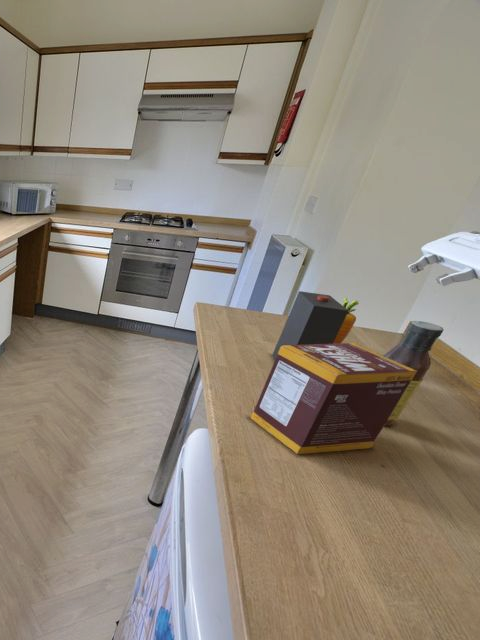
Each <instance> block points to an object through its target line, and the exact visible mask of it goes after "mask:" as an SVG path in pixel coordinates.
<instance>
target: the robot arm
mask: <svg viewBox="0 0 480 640" xmlns="http://www.w3.org/2000/svg"><path fill="white" fill-rule="evenodd" d="M420 249H421V253H422V256H421V257H420V258H419V259H418V260H417V261H415V262H413V263H410V264H408V266H407V268H408V271H410V272H412V273H414V274H417V273H419V272H422V271H424V268H425V267H426V266H428V265H433V264H437V265H441V266H443V267H445V268H448V269H451V270H453V271H455V272H454V273H450V274H449V273H444V274H442V275H440V276H437V277H436V279H435V280H436V281H437V284H439V285H440V286H442V287H446V286H448V285H451V284H453V283H454V284H455V283H461V282H468V281H471V280H473V279H476V280H479V281H480V231H477V230H473V231H458V232H453V233H451V234H448V235H446V236H443V237H440V238H437V239H435V240H433V241H430V242H428V243H425V244H424V245H423V246H422V247H421V248H420Z"/></svg>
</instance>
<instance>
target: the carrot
mask: <svg viewBox="0 0 480 640" xmlns="http://www.w3.org/2000/svg"><path fill="white" fill-rule="evenodd" d="M342 300H343V302H342V306H344V307H345V308H346V309H347V310H349V311H348V313H347V316H346V318H345V320H344V322H343V324H342V326H341V328H340V330H339V332H338V334H337V336H336V338H335V340H334V342H333V344H340V343H343V342H344V341H345V339H346V338H347V336H348V335H349V334H350V332H351V330H352V328H353V327H354V325H355V323H356V321H357V316H355V314H353V313H352V312H354V311H357V309H356V308H354V307H356V306H359V304H360V303H359V300H356V299H355V300H353V301H352V302H350V303H349V300H348V298H347V297H344V298H343V299H342Z"/></svg>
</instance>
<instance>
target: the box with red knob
mask: <svg viewBox="0 0 480 640" xmlns="http://www.w3.org/2000/svg"><path fill="white" fill-rule="evenodd" d="M348 311H349V310H347V309H346V308H345V307H344V306H343V304H341V303H340V302H339V301H338V300H336V299H335V298H334V297H333V296H331V295H330V294H323V293H317V292H316V293H315V292H308V291H301V290H298V293H297V294H296V297H295V299H294V302H293V304H292V306H291V309H290V312H289V314H288V316H287V319H286V321H285V323H284V326H283V327H282V331H281V334H280V335H279V338H278V340H277V343H276V345H275V348H274V351H272V352H273V353H272V355H271V356H272V357H273V359H274V360H275V359H276V357H277V354H278V352H279V350H280V347H281V346H283V345H309V344H333V342H334V340H335V338H336V336H337V334H338V332H339V330H340V328H341V326H342V324H343V322H344V320H345V318H346V316H347V313H348Z"/></svg>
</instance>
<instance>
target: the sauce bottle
mask: <svg viewBox="0 0 480 640" xmlns="http://www.w3.org/2000/svg"><path fill="white" fill-rule="evenodd" d="M443 332H444V327H442V326H440V325H437V324H436V323H433V322H429V321H424V320H423V321H422V320H413V321H411V322H410V324H409V325H408V326H407V331H406V333H405V334H404V336H403V338H402V339H401V341H400V342H399V343H397V344H396V345H395V346H394V347H392V348H391V349H390V350H389V351H387V353H385V354H383V356H384V357H386V358H389V359H391V360H393V361H395V362H398V363H400V364H402V365H405V366H407V367H409V368H412V369H414V370H416V371H417V372H416V373H415V375H414V377H413V379H412V380H411V382H410V383H409V385H408V387H407V388H406V390H405V392H404V393H403V395H402V397H401V398H400V400H399V402H398V403H397V405H396V406H395V408H394V410H393V411H392V413H391V415H390V416H389V418H388V420H387V421H386V423H385V425H384V426H390V425H393V424H395V422H396V421H397V420H398V419H399V418H400V417H401V415H402V413H403V412H404V410H405V409H406V407H407V405H409V402H410V401H411V399H412V398H413V396H414V394H415V393H416V391H417V390H418V389H419V387H420V385H421V383H422V382H423V380H424V377H425V375H426V374H427V373H428V371H429V370H430V367H431V365H432V364H431V357H430V353H429V352H430V351H431V350H432V347H433V346H434V344H435V342H436V340H437V339H438V338H440V337H441V336H442V334H443Z"/></svg>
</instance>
